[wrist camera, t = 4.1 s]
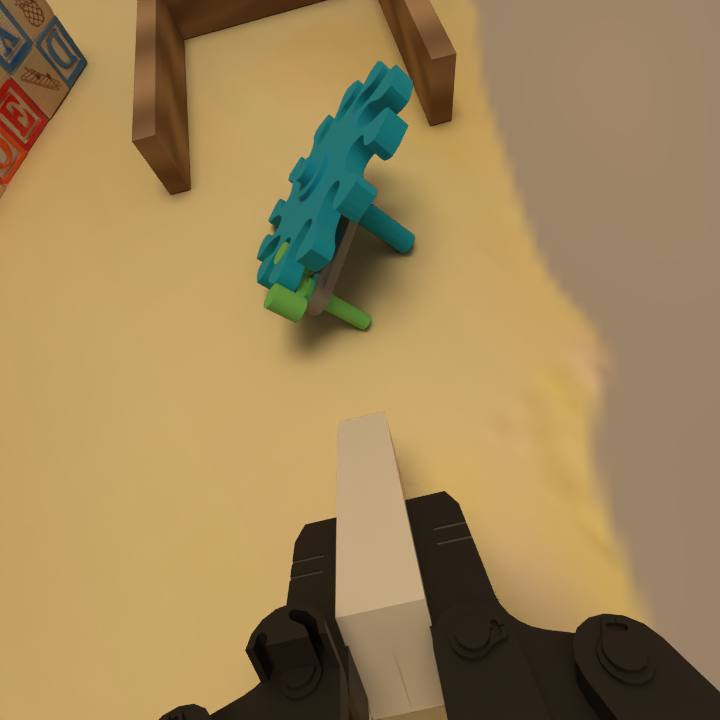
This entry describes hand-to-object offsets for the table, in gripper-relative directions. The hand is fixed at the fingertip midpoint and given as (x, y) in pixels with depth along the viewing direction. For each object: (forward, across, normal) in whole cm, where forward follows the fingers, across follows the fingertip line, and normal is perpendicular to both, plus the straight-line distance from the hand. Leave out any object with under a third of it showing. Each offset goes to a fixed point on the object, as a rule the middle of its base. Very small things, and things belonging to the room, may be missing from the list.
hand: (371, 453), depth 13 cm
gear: (+10, 0, +5) cm, 11 cm away
